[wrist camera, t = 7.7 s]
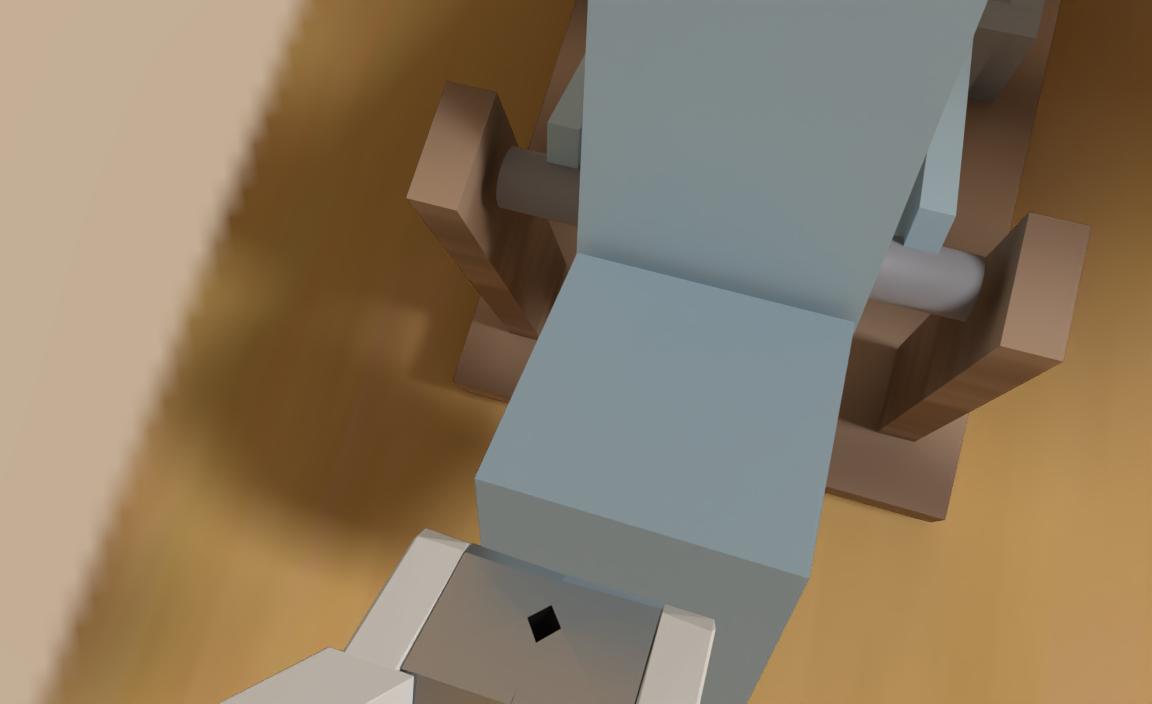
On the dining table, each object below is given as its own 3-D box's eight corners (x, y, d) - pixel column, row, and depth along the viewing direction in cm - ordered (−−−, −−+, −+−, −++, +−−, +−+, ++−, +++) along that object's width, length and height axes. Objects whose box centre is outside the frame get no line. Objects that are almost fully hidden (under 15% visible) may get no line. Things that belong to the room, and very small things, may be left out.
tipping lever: (839, 753, 18) (1565, -136, 5) (401, 609, 19) (148, -348, 7) (923, 149, 29) (1215, -588, 16) (643, 88, 30) (717, -630, 18)
